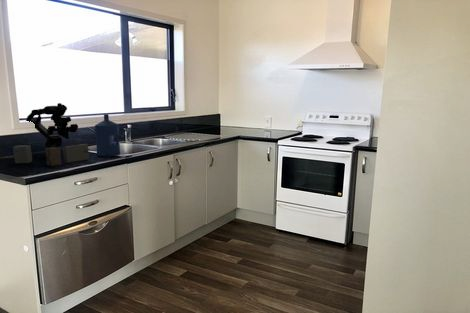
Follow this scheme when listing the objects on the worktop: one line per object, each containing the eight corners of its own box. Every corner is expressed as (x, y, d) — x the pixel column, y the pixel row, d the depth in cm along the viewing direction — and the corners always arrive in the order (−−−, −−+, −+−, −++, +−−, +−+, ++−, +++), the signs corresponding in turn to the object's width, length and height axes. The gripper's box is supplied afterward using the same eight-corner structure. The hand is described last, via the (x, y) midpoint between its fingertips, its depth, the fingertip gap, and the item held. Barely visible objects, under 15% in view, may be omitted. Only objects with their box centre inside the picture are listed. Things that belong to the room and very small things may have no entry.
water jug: (94, 156, 244) (91, 115, 239) (99, 152, 260) (96, 113, 254) (118, 156, 247) (116, 115, 242) (121, 152, 262) (119, 113, 257)
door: (65, 163, 223) (64, 147, 221) (63, 162, 224) (62, 146, 222) (90, 159, 234) (88, 144, 233) (87, 158, 236) (86, 143, 234)
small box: (32, 161, 230) (30, 145, 228) (27, 163, 224) (26, 146, 222) (19, 161, 229) (17, 145, 227) (14, 163, 224) (12, 146, 222)
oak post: (47, 164, 221) (45, 148, 219) (56, 162, 225) (54, 147, 223) (52, 165, 216) (50, 149, 215) (61, 164, 221) (60, 148, 219)
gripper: (46, 113, 228) (56, 132, 223) (75, 111, 242) (85, 129, 237) (42, 125, 235) (52, 143, 230) (71, 122, 249) (80, 140, 244)
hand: (67, 138), depth 235 cm, fingers closed
